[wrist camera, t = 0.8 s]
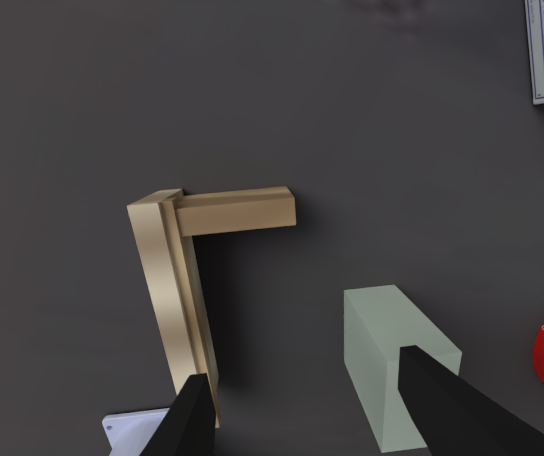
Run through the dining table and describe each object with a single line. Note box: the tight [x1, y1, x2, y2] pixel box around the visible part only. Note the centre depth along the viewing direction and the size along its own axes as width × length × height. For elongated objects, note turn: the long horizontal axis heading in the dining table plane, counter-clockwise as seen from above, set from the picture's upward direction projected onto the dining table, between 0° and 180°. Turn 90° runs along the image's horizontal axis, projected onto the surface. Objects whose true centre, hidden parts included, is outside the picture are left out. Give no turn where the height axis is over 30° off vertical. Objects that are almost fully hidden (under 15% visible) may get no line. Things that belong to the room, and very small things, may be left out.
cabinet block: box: [344, 285, 462, 453], centre depth 18 cm, size 7×4×7 cm, turn 5°
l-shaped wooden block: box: [127, 186, 296, 428], centre depth 17 cm, size 16×8×4 cm, turn 5°
